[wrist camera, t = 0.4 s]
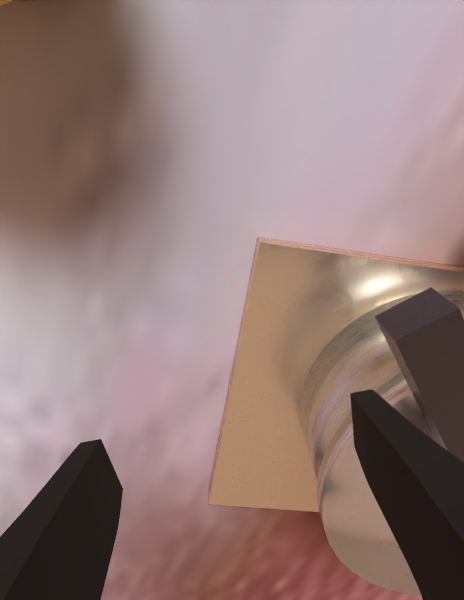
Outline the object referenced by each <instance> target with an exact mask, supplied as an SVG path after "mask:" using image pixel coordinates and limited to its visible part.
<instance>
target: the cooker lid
mask: <svg viewBox="0 0 464 600" xmlns="http://www.w3.org/2000/svg"><path fill="white" fill-rule="evenodd" d="M374 317H375V319H376V321H377V323H378V325H379V327H380V329H381V331H382V333H383V335H384V337H385V339H386V341H387V343H388V345H389V347H390V349H391V351H392V353H393V355H394V357H395V359H396V361H397V364H398V366H399V368H400V370H401V373H399V374H398V375H396V376H395V377H393V378H392V379H390V380H389V381H387V382H386V383H385V384H383V385H382V386H380V387H379V388H378V389H376V390H375V392H377V393H378V394H379V395H380V396H381V397H382V398H383V399H384V400H386V401H387V402H388V403H389V404H390V405H391V406H392V407H394V408H395V409H396V410H397V411H398V412H399V413H401V414H402V415H403V416H404V417H405V418H407V419H408V420H409V421H410V422H411V423H413V424H414V425H415V426H416V427H418V428H419V429H420V430H421V431H423V432H424V433H425V434H427V435H428V436H429V437H430V438H432V439H433V440H434V441H436V442H437V443H438V444H439V445H441V446H442V447H444V448H445V449H446V450H448V451H449V452H450V453H452V454H453V455H454V456H456V457H457V458H459V459H460V460H462V461H463V462H464V318H463V316H462V313H461V310H460V308H459V307H457V306H456V305H455V304H453V303H452V302H451V301H449V300H448V299H447V298H445V297H444V296H442V295H441V294H440V293H438V292H437V291H436V290H434V289H433V288H432V287H430V288H428V289H426V290H424V291H422V292H421V293H419V294H417V295H415V296H413V297H411V298H409V299H407V300H405V301H403V302H401V303H399V304H397V305H395V306H393V307H391V308H389V309H388V310H386V311H384V312H382V313H380V314H378V315H376V316H374ZM316 497H317V503H318V508H319V512H320V516H321V520H322V523H323V527H324V530H325V534H326V537H327V539H328V542H329V544H330V547H331V548H332V550H333V551H334V553H335V555H336V556H337V558H338V559H339V560H340V561H341V562H342V563H343V564H344V565H345V566H346V567H347V568H348V569H349V570H351V571H352V572H353V573H355V574H356V575H357V576H359V577H361V578H362V579H364V580H366V581H368V582H370V583H372V584H374V585H377V586H379V587H382V588H385V589H388V590H392V591H396V592H400V593H406V594H412V595H421V593H420V590H419V588H418V585H417V583H416V581H415V579H414V577H413V574H412V572H411V570H410V568H409V566H408V564H407V562H406V559H405V557H404V555H403V553H402V551H401V549H400V547H399V545H398V543H397V541H396V539H395V537H394V535H393V533H392V531H391V529H390V527H389V525H388V523H387V521H386V519H385V517H384V515H383V513H382V511H381V509H380V507H379V505H378V503H377V501H376V499H375V497H374V495H373V493H372V491H371V489H370V487H369V485H368V483H367V480H366V477H365V475H364V472H363V470H362V467H361V464H360V461H359V459H358V456H357V453H356V450H355V447H354V436H353V423H352V413H351V414H350V415H349V416H348V417H347V418H346V419H345V421H344V422H343V423H342V425H341V426H340V427H339V429H338V430H337V431H336V433H335V434H334V436H333V438H332V440H331V441H330V443H329V445H328V447H327V449H326V451H325V453H324V456H323V459H322V461H321V464H320V467H319V472H318V477H317V488H316Z"/></svg>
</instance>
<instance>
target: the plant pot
mask: <svg viewBox="0 0 464 600" xmlns="http://www.w3.org/2000/svg"><path fill="white" fill-rule="evenodd" d="M10 1H12V0H0V6H1V5H4V4H6V3H8V2H10Z"/></svg>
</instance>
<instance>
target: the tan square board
mask: <svg viewBox="0 0 464 600" xmlns="http://www.w3.org/2000/svg"><path fill="white" fill-rule="evenodd" d="M430 287H432V288H433V289H434V290H436V291H437V292H438V293H440V294H441V295H442V296H444V297H445V298H447V299H448V300H449V301H451V302H452V303H453V304H455V305H456V306H457V307H459V308H460V310H461V313H462V316H463V318H464V267H458V266H451V265H444V264H438V263H431V262H424V261H418V260H411V259H404V258H397V257H391V256H384V255H377V254H371V253H364V252H357V251H350V250H344V249H337V248H330V247H324V246H317V245H310V244H303V243H297V242H290V241H283V240H276V239H270V238H263V237H258V240H257V245H256V250H255V256H254V261H253V266H252V271H251V276H250V281H249V286H248V291H247V297H246V302H245V307H244V312H243V317H242V322H241V327H240V333H239V338H238V343H237V348H236V353H235V358H234V363H233V368H232V374H231V379H230V384H229V389H228V394H227V399H226V404H225V409H224V415H223V420H222V425H221V430H220V435H219V440H218V445H217V450H216V456H215V461H214V466H213V471H212V476H211V481H210V486H209V495H208V504H211V505H225V506H239V507H254V508H268V509H282V510H297V511H311V512H319V508H318V503H317V497H316V488H317V477H318V472H319V467H320V464H321V461H322V459H323V456H324V453H325V451H326V449H327V447H328V445H329V443H330V441H331V440H332V438H333V436H334V434H335V433H336V431H337V430H338V429H339V427H340V426H341V425H342V423H343V422H344V421H345V419H346V418H347V417H348V416H349V415H350V414H351V413H352V410H351V397H350V393H354V392H359V391H365V390H370V389H372V390H374V391H375V390H376V389H378V388H379V387H380V386H382V385H383V384H385V383H386V382H387V381H389V380H390V379H392V378H393V377H395V376H396V375H398V374H399V373H401V370H400V368H399V366H398V364H397V361H396V359H395V357H394V355H393V353H392V351H391V349H390V347H389V345H388V343H387V341H386V339H385V337H384V335H383V333H382V331H381V329H380V327H379V325H378V323H377V321H376V319H375V317H374V316H376V315H378V314H380V313H382V312H384V311H386V310H388V309H389V308H391V307H393V306H395V305H397V304H399V303H401V302H403V301H405V300H407V299H409V298H411V297H413V296H415V295H417V294H419V293H421V292H422V291H424V290H426V289H428V288H430Z"/></svg>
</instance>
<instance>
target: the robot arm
mask: <svg viewBox="0 0 464 600" xmlns="http://www.w3.org/2000/svg"><path fill="white" fill-rule="evenodd" d="M350 397H351V410H352V423H353V436H354V447H355V450H356V453H357V456H358V459H359V461H360V464H361V467H362V470H363V472H364V475H365V477H366V480H367V483H368V485H369V487H370V489H371V491H372V493H373V495H374V497H375V499H376V501H377V503H378V505H379V507H380V509H381V511H382V513H383V515H384V517H385V519H386V521H387V523H388V525H389V527H390V529H391V531H392V533H393V535H394V537H395V539H396V541H397V543H398V545H399V547H400V549H401V551H402V553H403V555H404V557H405V559H406V562H407V564H408V566H409V568H410V570H411V572H412V574H413V577H414V579H415V581H416V583H417V585H418V588H419V590H420V593H421V595H422V598H423V600H464V462H463V461H462V460H460V459H459V458H457V457H456V456H454V455H453V454H452V453H450V452H449V451H448V450H446V449H445V448H444V447H442V446H441V445H439V444H438V443H437V442H436V441H434V440H433V439H432V438H430V437H429V436H428V435H427V434H425V433H424V432H423V431H421V430H420V429H419V428H418V427H416V426H415V425H414V424H413V423H411V422H410V421H409V420H408V419H407V418H405V417H404V416H403V415H402V414H401V413H399V412H398V411H397V410H396V409H395V408H394V407H392V406H391V405H390V404H389V403H388V402H387V401H386V400H384V399H383V398H382V397H381V396H380V395H379V394H378V393H377V392H375V391H374V390H372V389H370V390H365V391H359V392H354V393H350ZM122 491H123V488H122V486H121V484H120V481H119V479H118V477H117V475H116V472H115V470H114V468H113V465H112V463H111V461H110V459H109V456H108V454H107V452H106V450H105V447H104V445H103V443H102V441H101V439H99V440H94V441H88V442H83V443H80V444H79V445H78V446H77V447H76V449H75V450H74V451H73V452H72V453H71V454H70V456H69V457H68V458H67V459H66V460H65V462H64V463H63V464H62V465H61V467H60V468H59V469H58V470H57V471H56V473H55V474H54V475H53V476H52V478H51V479H50V480H49V481H48V482H47V484H46V485H45V486H44V487H43V488H42V490H41V491H40V492H39V493H38V494H37V496H36V497H35V498H34V499H33V500H32V502H31V503H30V504H29V505H28V506H27V508H26V509H25V510H24V511H23V512H22V513H21V514H20V516H19V517H18V518H17V519H16V520H15V521H14V522H13V523H12V524H11V526H10V527H9V528H8V529H7V530H6V531H5V532H4V533H3V535H2V536H1V537H0V600H100V599H101V595H102V591H103V587H104V583H105V579H106V575H107V571H108V567H109V563H110V559H111V555H112V551H113V546H114V542H115V538H116V534H117V529H118V524H119V517H120V510H121V500H122Z"/></svg>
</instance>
